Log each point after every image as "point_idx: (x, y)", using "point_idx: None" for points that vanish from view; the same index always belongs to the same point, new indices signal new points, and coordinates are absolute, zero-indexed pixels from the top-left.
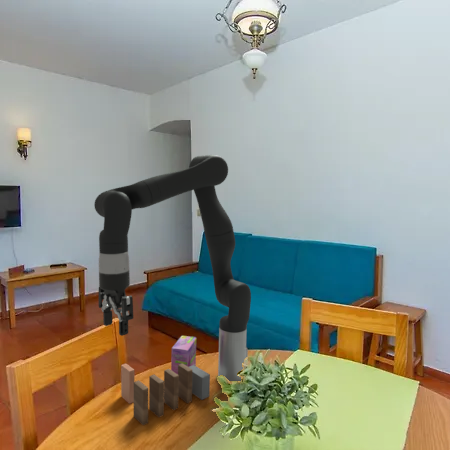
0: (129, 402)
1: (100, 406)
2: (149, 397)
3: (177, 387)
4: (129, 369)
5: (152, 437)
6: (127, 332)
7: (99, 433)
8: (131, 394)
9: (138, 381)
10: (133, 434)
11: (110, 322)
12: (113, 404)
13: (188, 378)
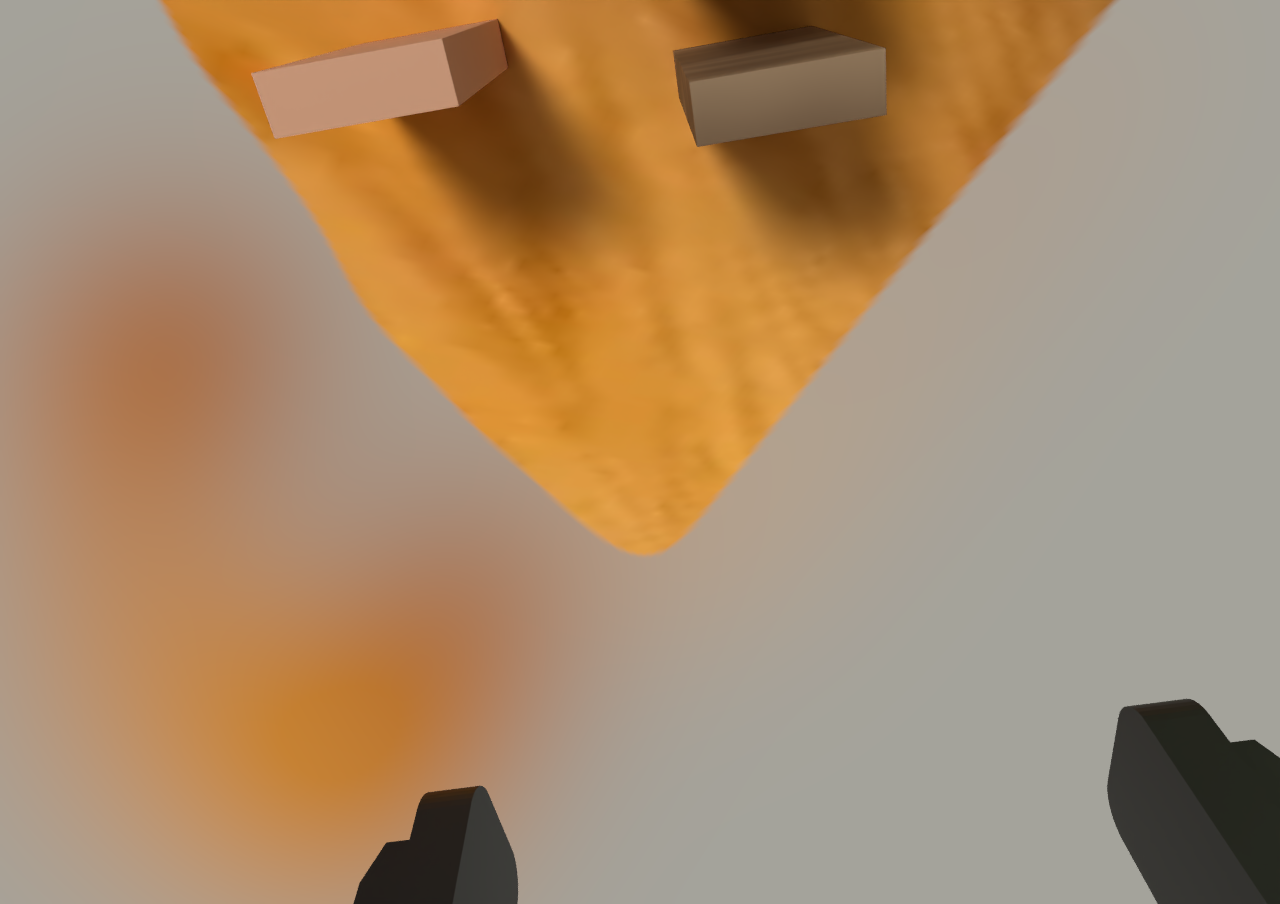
0: (505, 68)
1: (445, 268)
2: None
3: None
4: (414, 90)
5: (971, 64)
6: (1262, 753)
7: (720, 344)
8: (492, 54)
9: (709, 94)
10: (858, 169)
11: (484, 846)
12: (460, 181)
13: None
